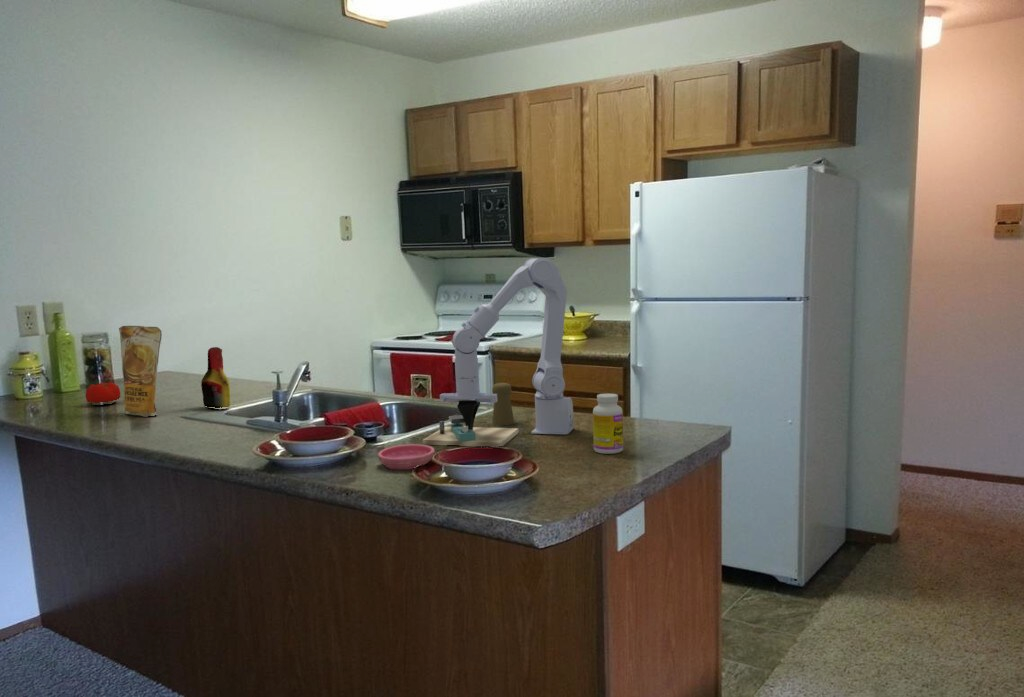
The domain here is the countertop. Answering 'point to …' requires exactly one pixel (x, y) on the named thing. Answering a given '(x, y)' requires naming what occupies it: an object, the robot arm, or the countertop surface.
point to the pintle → (465, 428)
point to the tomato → (102, 392)
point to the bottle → (215, 381)
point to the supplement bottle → (608, 425)
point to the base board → (481, 437)
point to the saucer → (406, 456)
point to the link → (460, 435)
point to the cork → (502, 405)
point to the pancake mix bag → (140, 366)
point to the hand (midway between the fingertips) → (470, 430)
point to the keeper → (453, 419)
